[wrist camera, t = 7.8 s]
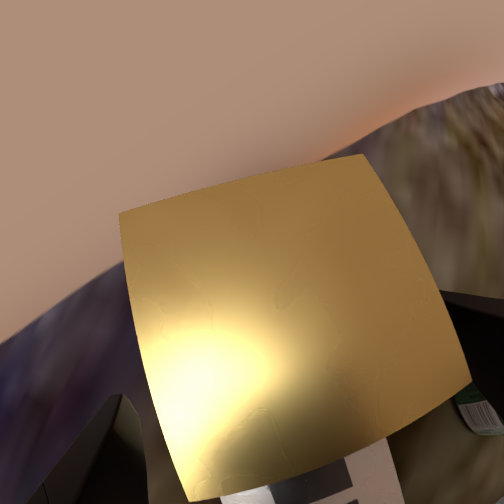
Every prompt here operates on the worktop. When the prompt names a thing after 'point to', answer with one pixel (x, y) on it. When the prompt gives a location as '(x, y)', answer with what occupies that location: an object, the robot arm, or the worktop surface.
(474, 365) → the robot arm
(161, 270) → the gold rectangular block
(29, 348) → the worktop surface
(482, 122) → the worktop surface
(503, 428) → the coffee jar
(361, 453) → the rail
